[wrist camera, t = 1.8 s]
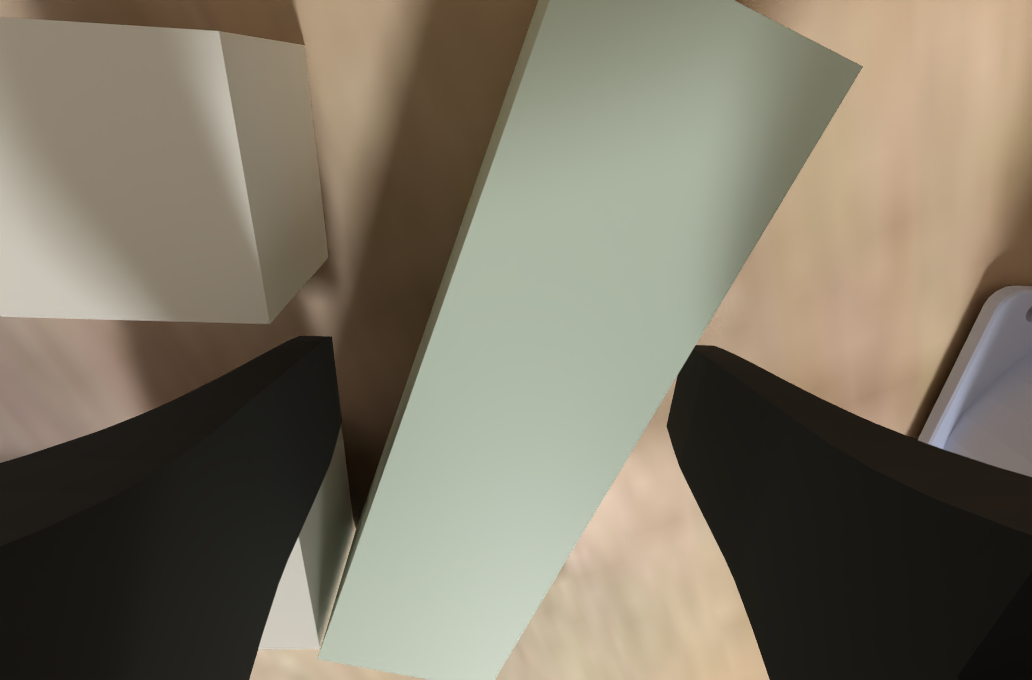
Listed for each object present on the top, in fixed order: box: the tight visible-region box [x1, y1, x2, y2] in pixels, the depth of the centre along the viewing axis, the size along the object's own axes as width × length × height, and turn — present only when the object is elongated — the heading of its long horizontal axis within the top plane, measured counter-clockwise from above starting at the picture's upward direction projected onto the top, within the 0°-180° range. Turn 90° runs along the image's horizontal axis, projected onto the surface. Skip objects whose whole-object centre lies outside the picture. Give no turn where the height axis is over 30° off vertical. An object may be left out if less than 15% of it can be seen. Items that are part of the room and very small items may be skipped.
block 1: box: [0, 17, 328, 324], centre depth 9 cm, size 4×4×4 cm
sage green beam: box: [318, 0, 863, 680], centre depth 11 cm, size 4×14×4 cm, turn 159°
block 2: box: [258, 425, 354, 650], centre depth 12 cm, size 4×4×4 cm
